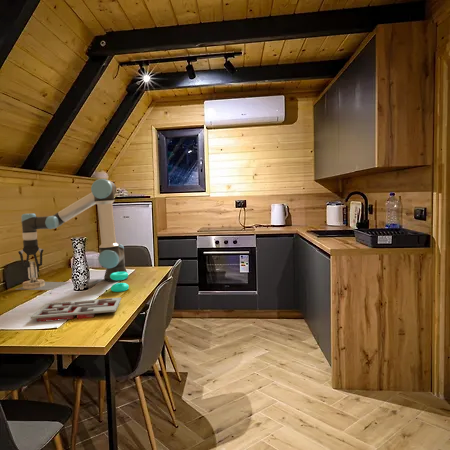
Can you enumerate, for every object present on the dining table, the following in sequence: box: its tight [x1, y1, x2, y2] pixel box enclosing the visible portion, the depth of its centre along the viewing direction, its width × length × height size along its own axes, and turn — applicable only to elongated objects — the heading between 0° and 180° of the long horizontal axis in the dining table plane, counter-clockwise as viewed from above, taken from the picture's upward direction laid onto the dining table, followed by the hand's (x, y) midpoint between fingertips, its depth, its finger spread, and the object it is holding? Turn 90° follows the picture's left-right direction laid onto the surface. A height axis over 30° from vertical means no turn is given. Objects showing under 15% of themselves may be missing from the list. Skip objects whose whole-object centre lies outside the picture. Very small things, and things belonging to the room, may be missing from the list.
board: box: [14, 281, 71, 291], centre depth 206 cm, size 24×18×2 cm
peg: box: [28, 261, 37, 283], centre depth 204 cm, size 3×3×15 cm
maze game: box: [29, 296, 122, 322], centre depth 158 cm, size 35×20×3 cm, turn 100°
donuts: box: [110, 271, 130, 293], centre depth 195 cm, size 10×10×10 cm
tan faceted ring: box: [22, 278, 45, 289], centre depth 205 cm, size 11×11×3 cm
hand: (33, 277), depth 205 cm, fingers open, 3 cm apart
